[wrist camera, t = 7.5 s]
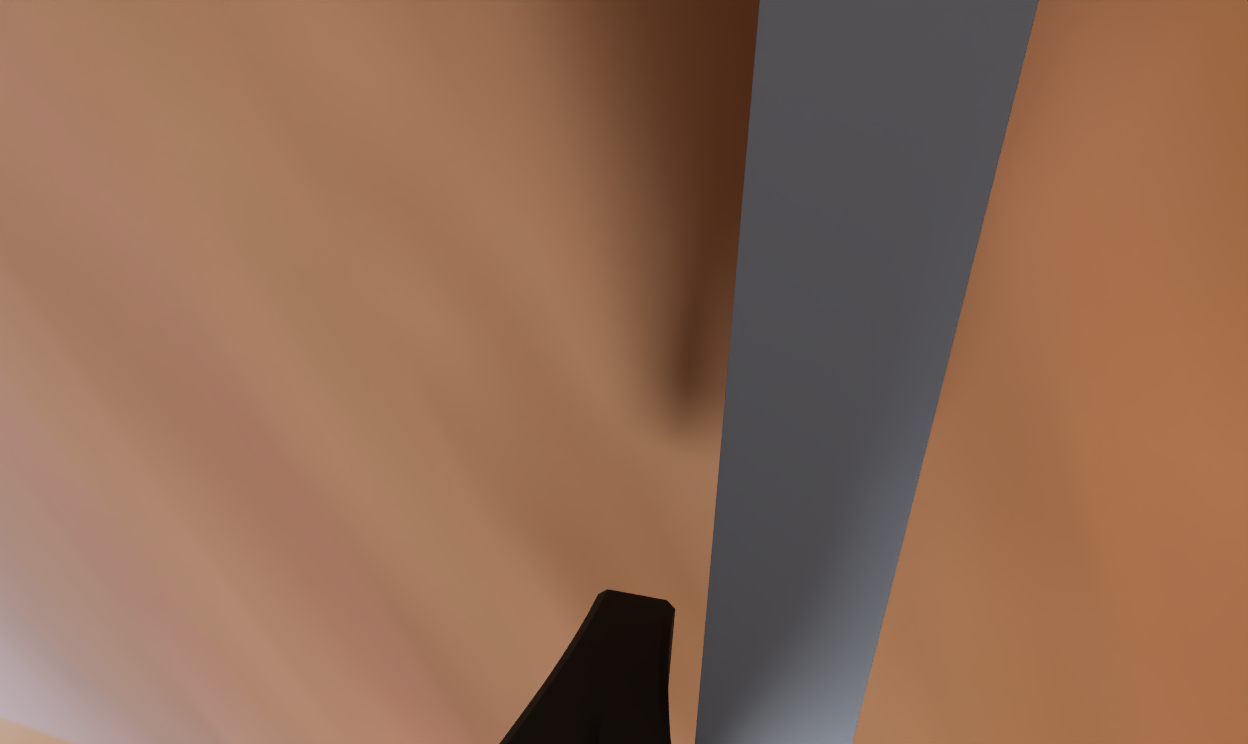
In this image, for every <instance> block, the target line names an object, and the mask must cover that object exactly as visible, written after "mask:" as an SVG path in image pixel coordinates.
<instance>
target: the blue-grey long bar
mask: <svg viewBox="0 0 1248 744" xmlns="http://www.w3.org/2000/svg"><path fill="white" fill-rule="evenodd" d="M1038 1H1039V0H760V3H759V15H758V26H757V38H756V49H755V61H754V72H753V84H752V95H751V107H750V118H749V129H748V141H747V152H746V164H745V175H744V187H743V198H742V210H741V221H740V233H739V244H738V256H737V267H736V279H735V290H734V302H733V313H732V325H731V336H730V347H729V359H728V370H727V382H726V393H725V405H724V416H723V428H722V439H721V451H720V462H719V474H718V485H717V497H716V508H715V520H714V531H713V543H712V554H711V566H710V577H709V588H708V600H707V611H706V623H705V634H704V646H703V657H702V669H701V680H700V692H699V703H698V715H697V726H696V738H695V744H852V742H853V738H854V734H855V730H856V726H857V722H858V718H859V714H860V710H861V706H862V702H863V698H864V694H865V690H866V686H867V682H868V678H869V674H870V670H871V666H872V662H873V658H874V654H875V650H876V646H877V642H878V638H879V634H880V630H881V626H882V622H883V618H884V614H885V610H886V606H887V602H888V598H889V594H890V590H891V586H892V582H893V578H894V574H895V570H896V566H897V562H898V558H899V555H900V551H901V547H902V543H903V539H904V535H905V531H906V527H907V523H908V519H909V515H910V511H911V507H912V503H913V499H914V495H915V491H916V487H917V483H918V479H919V475H920V471H921V467H922V463H923V459H924V455H925V451H926V447H927V443H928V439H929V435H930V431H931V427H932V423H933V419H934V415H935V411H936V407H937V403H938V399H939V395H940V391H941V387H942V383H943V379H944V375H945V371H946V367H947V363H948V359H949V355H950V351H951V347H952V343H953V339H954V335H955V331H956V327H957V323H958V319H959V315H960V311H961V307H962V304H963V300H964V296H965V292H966V288H967V284H968V280H969V276H970V272H971V268H972V264H973V260H974V256H975V252H976V248H977V244H978V240H979V236H980V232H981V228H982V224H983V220H984V216H985V212H986V208H987V204H988V200H989V196H990V192H991V188H992V184H993V180H994V176H995V172H996V168H997V164H998V160H999V156H1000V152H1001V148H1002V144H1003V140H1004V136H1005V132H1006V128H1007V124H1008V120H1009V116H1010V112H1011V108H1012V104H1013V100H1014V96H1015V92H1016V88H1017V84H1018V80H1019V76H1020V72H1021V68H1022V64H1023V60H1024V57H1025V53H1026V49H1027V45H1028V41H1029V37H1030V33H1031V29H1032V25H1033V21H1034V17H1035V13H1036V9H1037V5H1038Z"/></svg>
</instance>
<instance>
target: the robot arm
mask: <svg viewBox="0 0 1248 744" xmlns="http://www.w3.org/2000/svg"><path fill="white" fill-rule="evenodd" d="M674 616H675V608H674V607H673V606H672V605H671V604H670V603H669V602H668V601H667V600H663V599H657V598H652V597H646V596H641V595H635V594H630V593H625V592H619V591H614V590H608V589H607V590H605V591H603V592H602V593H600V594H598V596H597V598H596V599H595V601H594V603H593V605H592V607H591V609H590V611H589V613H588V615H587V616H586V618H585V620H584V621H583V623H582V625H581V627H580V628H579V630H578V632H577V633H576V635H575V637H574V638H573V640H572V642H571V643H570V645H569V646H568V648H567V649H566V651H565V653H564V654H563V656H562V657H561V659H560V660H559V662H558V663H557V665H556V666H555V668H554V669H553V671H552V672H551V674H550V675H549V676H548V678H547V679H546V681H545V682H544V684H543V685H542V687H541V688H540V689H539V691H538V692H537V693H536V695H535V696H534V698H533V699H532V700H531V702H530V703H529V704H528V706H527V707H526V709H525V710H524V711H523V713H522V714H521V715H520V717H519V718H518V720H517V721H516V722H515V724H514V725H513V726H512V728H511V729H510V730H509V732H508V733H507V734H506V736H505V737H504V738H503V740H502V741H501V742H500V744H671V738H670V724H669V701H668V683H669V672H670V661H671V649H672V638H673V627H674Z"/></svg>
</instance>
